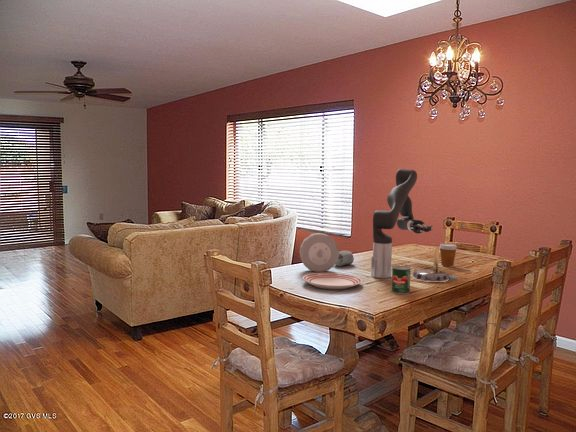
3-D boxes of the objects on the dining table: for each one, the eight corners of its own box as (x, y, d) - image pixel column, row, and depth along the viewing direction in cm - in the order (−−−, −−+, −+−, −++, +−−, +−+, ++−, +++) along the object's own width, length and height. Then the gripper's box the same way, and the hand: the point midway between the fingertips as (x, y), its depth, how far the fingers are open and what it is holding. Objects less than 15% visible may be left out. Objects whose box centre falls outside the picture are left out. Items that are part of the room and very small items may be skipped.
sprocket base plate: (419, 283, 220) (420, 281, 220) (407, 275, 237) (407, 273, 237) (454, 282, 221) (454, 281, 221) (440, 274, 238) (440, 273, 238)
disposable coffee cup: (444, 267, 256) (445, 246, 254) (435, 264, 265) (435, 243, 264) (459, 267, 258) (460, 245, 257) (449, 263, 267) (450, 243, 266)
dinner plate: (324, 275, 234) (324, 269, 234) (372, 284, 217) (372, 277, 217) (290, 285, 213) (290, 278, 213) (340, 296, 196) (340, 288, 195)
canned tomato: (406, 289, 207) (407, 265, 206) (412, 294, 199) (413, 269, 198) (389, 289, 207) (390, 265, 206) (393, 294, 199) (394, 269, 198)
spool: (342, 262, 250) (339, 245, 254) (330, 268, 256) (327, 251, 260) (359, 266, 258) (356, 249, 262) (347, 271, 265) (344, 254, 269)
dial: (300, 273, 236) (300, 235, 234) (298, 269, 248) (299, 232, 246) (340, 274, 237) (340, 235, 235) (336, 269, 249) (337, 232, 247)
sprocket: (440, 282, 217) (441, 253, 216) (407, 277, 228) (408, 249, 227) (453, 276, 230) (455, 249, 228) (421, 271, 241) (422, 245, 239)
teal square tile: (450, 279, 228) (450, 277, 228) (447, 278, 231) (447, 275, 231) (456, 279, 228) (456, 276, 228) (453, 277, 231) (453, 275, 231)
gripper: (404, 219, 260) (415, 223, 243) (427, 219, 261) (439, 222, 244) (404, 232, 261) (415, 237, 244) (426, 232, 262) (439, 237, 245)
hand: (427, 230), depth 244 cm, fingers closed
